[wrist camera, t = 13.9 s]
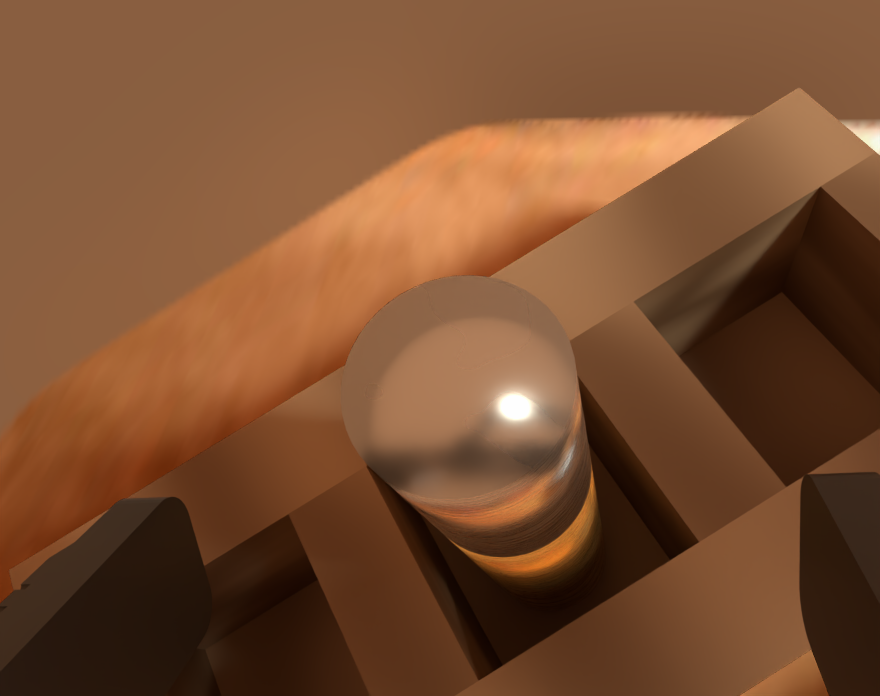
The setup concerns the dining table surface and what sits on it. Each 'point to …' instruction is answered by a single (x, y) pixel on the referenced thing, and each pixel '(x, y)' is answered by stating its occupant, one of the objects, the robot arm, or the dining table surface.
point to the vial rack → (611, 450)
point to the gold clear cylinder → (482, 431)
